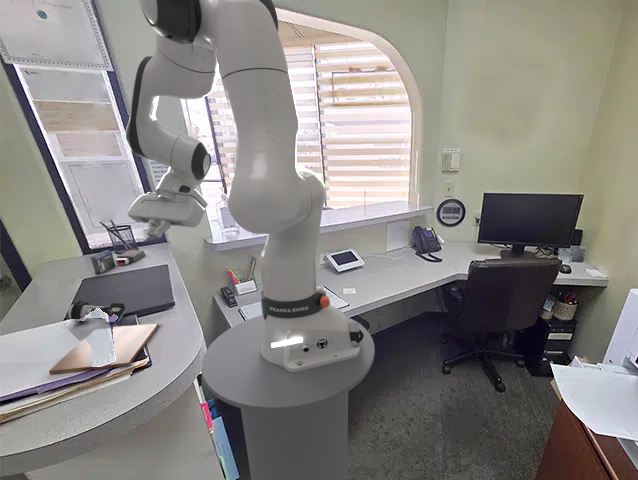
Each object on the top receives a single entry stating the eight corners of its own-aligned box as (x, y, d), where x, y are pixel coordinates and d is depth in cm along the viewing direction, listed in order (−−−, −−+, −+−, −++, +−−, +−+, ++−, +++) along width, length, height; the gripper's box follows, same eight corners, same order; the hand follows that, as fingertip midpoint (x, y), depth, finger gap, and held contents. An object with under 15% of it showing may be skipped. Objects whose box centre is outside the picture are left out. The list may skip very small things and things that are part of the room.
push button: (110, 318, 73) (58, 316, 71) (117, 332, 77) (67, 331, 74) (123, 298, 78) (75, 296, 76) (128, 312, 82) (83, 310, 79)
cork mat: (159, 326, 76) (158, 323, 76) (129, 366, 62) (128, 362, 62) (96, 331, 73) (95, 328, 73) (49, 374, 59) (48, 371, 58)
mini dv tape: (100, 273, 105) (95, 257, 103) (95, 274, 105) (90, 257, 102) (115, 265, 112) (111, 250, 110) (110, 266, 112) (106, 250, 110)
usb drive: (145, 255, 125) (143, 248, 124) (129, 264, 114) (127, 257, 113) (130, 255, 124) (128, 248, 123) (113, 265, 113) (111, 257, 112)
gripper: (135, 184, 86) (110, 226, 81) (199, 189, 82) (177, 233, 77) (153, 199, 92) (130, 239, 86) (213, 204, 88) (194, 245, 83)
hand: (153, 236), depth 82 cm, fingers closed
